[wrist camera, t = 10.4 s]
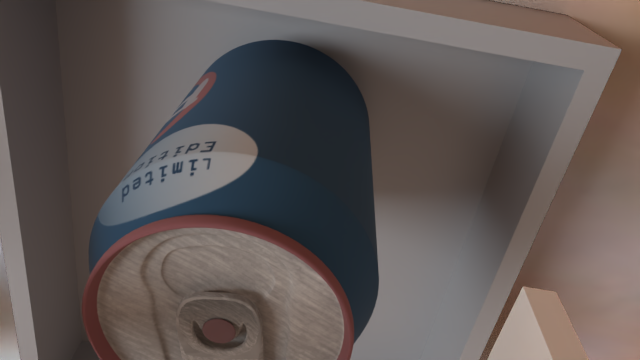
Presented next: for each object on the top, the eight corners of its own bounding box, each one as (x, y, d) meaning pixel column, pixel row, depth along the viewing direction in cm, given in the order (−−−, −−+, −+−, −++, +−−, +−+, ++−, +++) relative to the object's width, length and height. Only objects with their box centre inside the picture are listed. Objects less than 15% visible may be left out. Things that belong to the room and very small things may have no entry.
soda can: (189, 27, 20) (10, 187, 10) (374, 33, 20) (398, 204, 9) (206, 186, 23) (87, 432, 13) (363, 193, 23) (372, 450, 13)
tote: (35, -86, 19) (-50, -77, 15) (566, 14, 20) (622, 49, 16) (72, 340, 29) (29, 413, 26) (416, 395, 30) (426, 474, 26)
